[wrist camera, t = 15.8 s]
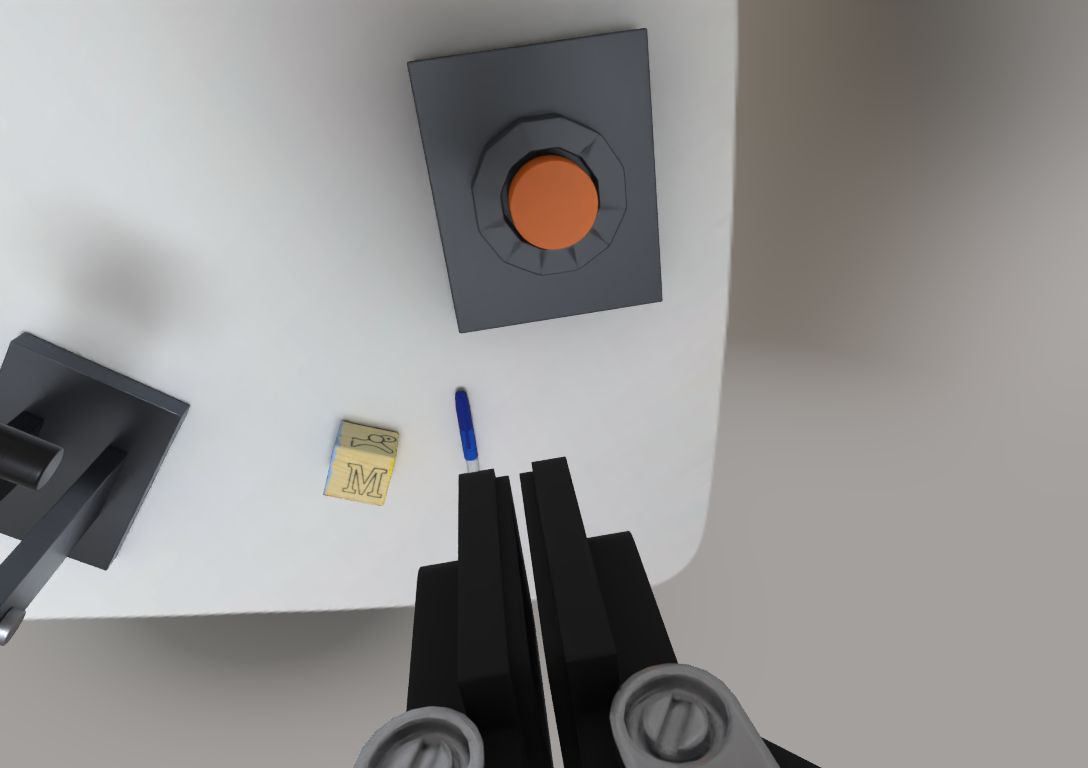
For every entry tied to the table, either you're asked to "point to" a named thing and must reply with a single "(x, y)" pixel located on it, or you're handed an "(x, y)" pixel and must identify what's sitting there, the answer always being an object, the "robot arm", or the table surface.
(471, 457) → the ballpoint pen
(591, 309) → the control block
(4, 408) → the bracket
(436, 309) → the table surface
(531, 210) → the button
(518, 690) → the robot arm
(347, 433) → the alphabet block
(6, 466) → the lever
